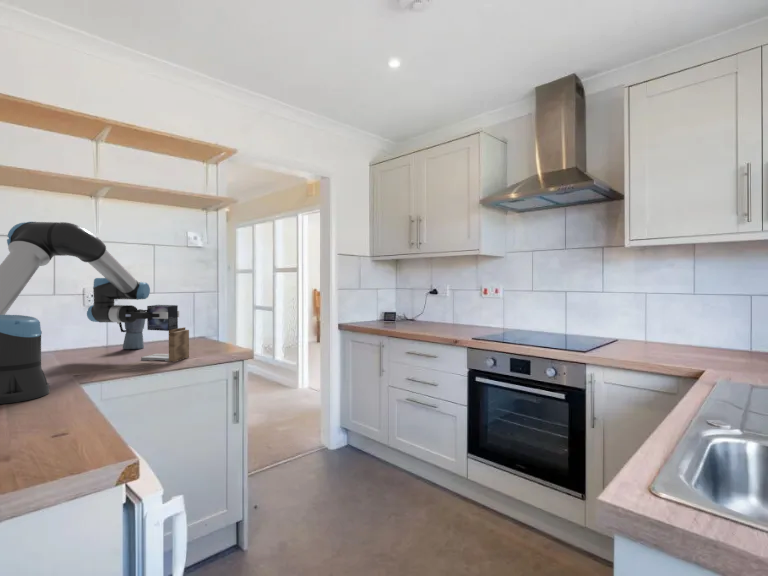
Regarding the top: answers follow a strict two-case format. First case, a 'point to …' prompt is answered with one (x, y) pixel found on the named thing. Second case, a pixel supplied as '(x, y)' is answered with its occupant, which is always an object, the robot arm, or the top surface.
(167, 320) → the small box
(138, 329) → the moka pot
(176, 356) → the bookend
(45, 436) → the top surface
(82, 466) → the top surface
